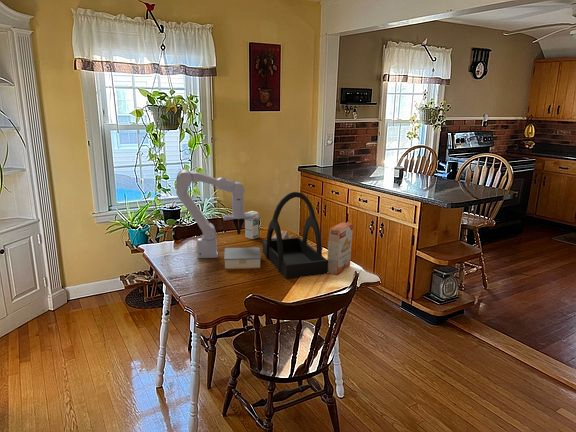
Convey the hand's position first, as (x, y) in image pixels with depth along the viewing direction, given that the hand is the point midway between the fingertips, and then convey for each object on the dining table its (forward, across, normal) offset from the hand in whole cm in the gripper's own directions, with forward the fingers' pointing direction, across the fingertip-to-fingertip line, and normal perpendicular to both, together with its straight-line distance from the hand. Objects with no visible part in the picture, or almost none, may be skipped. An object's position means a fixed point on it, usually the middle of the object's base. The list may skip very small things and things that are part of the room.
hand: (238, 233), depth 214 cm
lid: (+6, -1, +13) cm, 15 cm away
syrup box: (+11, -7, -26) cm, 29 cm away
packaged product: (+12, -22, -17) cm, 30 cm away
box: (+10, -1, +13) cm, 17 cm away
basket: (+11, -25, +14) cm, 31 cm away
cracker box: (+12, -45, +24) cm, 53 cm away
